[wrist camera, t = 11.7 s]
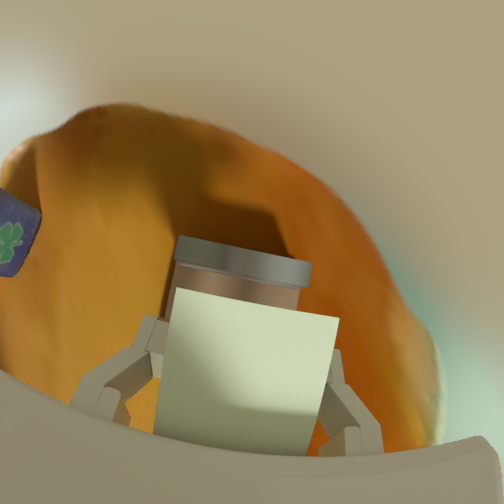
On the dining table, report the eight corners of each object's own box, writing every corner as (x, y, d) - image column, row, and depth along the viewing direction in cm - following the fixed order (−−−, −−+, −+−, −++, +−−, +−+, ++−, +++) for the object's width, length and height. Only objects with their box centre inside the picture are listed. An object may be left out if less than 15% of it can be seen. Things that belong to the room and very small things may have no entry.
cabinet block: (190, 364, 17) (152, 436, 7) (204, 293, 17) (176, 287, 7) (262, 377, 17) (304, 459, 7) (276, 307, 18) (339, 317, 8)
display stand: (160, 353, 27) (146, 366, 21) (182, 246, 29) (173, 233, 23) (278, 376, 28) (291, 394, 22) (299, 271, 30) (317, 264, 24)
